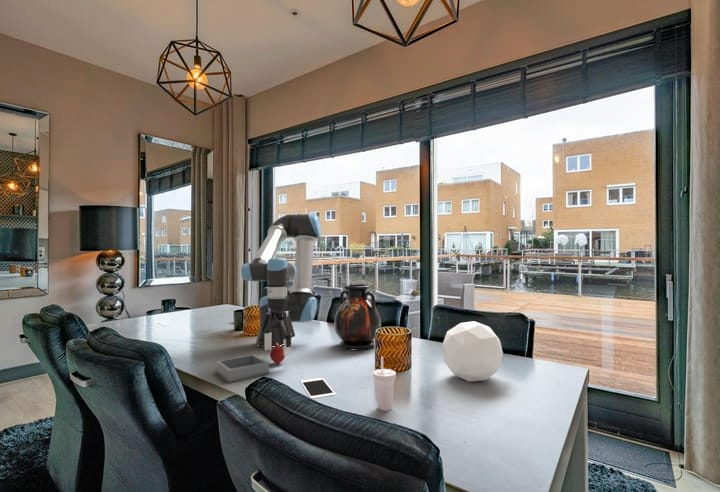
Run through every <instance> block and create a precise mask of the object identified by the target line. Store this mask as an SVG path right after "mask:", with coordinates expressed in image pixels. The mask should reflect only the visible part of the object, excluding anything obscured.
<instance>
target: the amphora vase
mask: <svg viewBox="0 0 720 492" xmlns="http://www.w3.org/2000/svg"><path fill="white" fill-rule="evenodd" d="M342 288H343V290H342V291H340V294H339V295H340V296H339V305H340V306H339V307H338V309H337V310H336V313H335V316H334V323H333V326H334V327H333V328H334V329H333V330H334V331H335V334H336V336H337V337H338V338H339V339H340V340H341V341H340V342H339V346H340V347H341V348H342V347H343V349H345V348H346V349H345V350H348V349H354V350H353V351H363V350H362V349H366V350H369V349H368V348H370V349H372V348H374V347H375V346H374V341H375V339H376V337H375V331H376V329H377V328H381V327H382V322H381V317H380V313H379V310H378V309H377V307H376V296H375V294H374V292H372V291H369V289H371V288H372V286H371V284H365V283H364V284H363V283H361V284H360V283H354V284H345V285H343V286H342ZM345 294H346V298H345V297H344V296H345ZM369 296H370V299H369V298H368V297H369ZM344 298H345V299H344ZM381 329H382V328H381ZM373 346H374V347H373Z"/></svg>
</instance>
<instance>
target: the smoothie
mask: <svg viewBox="0 0 720 492" xmlns="http://www.w3.org/2000/svg"><path fill="white" fill-rule="evenodd" d="M380 357H381V359H380V360H381V361H380V365H381V366H380V368H381V369H380V368H379V369H375V370H374V371H372V378H374V385H375V386H374V387H375V395H376V402H377V408H378V410H380V411H385V412H387V411H390V410H392V408H393V407H392V406H393V398H394V387H395V379H396V377H397V373H396V371H395V370H393V369H389V368H384V356H380Z"/></svg>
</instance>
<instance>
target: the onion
mask: <svg viewBox="0 0 720 492" xmlns="http://www.w3.org/2000/svg"><path fill="white" fill-rule="evenodd" d="M269 358H270V359H271V361H273V362H274V364H276V365H279V364H280V363H281V362H283V361H284V360H285V358H286V356H284V346H280V345H279V344H278V343H277V344H276V346H275V347H272V349H270V352H269ZM278 363H279V364H278Z"/></svg>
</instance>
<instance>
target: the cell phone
mask: <svg viewBox="0 0 720 492" xmlns="http://www.w3.org/2000/svg"><path fill="white" fill-rule="evenodd" d="M300 384H301V385H302V386H303V388H304V390H305V392H306V393H307V395H308V397H309V399H310V398H312V400H314V399H320V398H326V397H333V396H336V392H335V391H334V390H333V388H332V387H331V386H330V384H328V383H327V381H326V380H325V378H324V377H319V378H318V377H317V378H316V377H315V378H309V379H303V380H302V379H301V380H300Z"/></svg>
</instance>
